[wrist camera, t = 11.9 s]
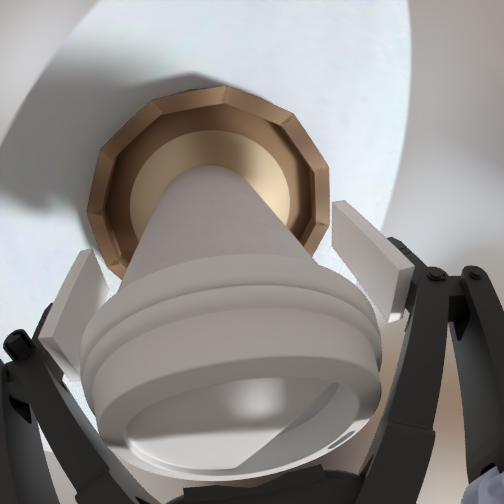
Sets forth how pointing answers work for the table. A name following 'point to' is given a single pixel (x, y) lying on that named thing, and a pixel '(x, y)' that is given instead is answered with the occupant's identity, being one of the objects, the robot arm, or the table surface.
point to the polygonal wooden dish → (206, 153)
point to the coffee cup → (228, 342)
